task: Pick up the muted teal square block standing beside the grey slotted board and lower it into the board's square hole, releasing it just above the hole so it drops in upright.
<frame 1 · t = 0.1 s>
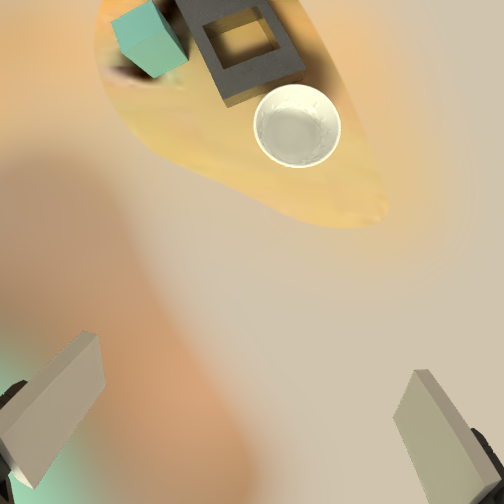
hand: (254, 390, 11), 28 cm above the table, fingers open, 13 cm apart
grey slotted board: (234, 31, 32), on the table
white cup: (289, 139, 35), on the table
teal block: (165, 55, 33), on the table
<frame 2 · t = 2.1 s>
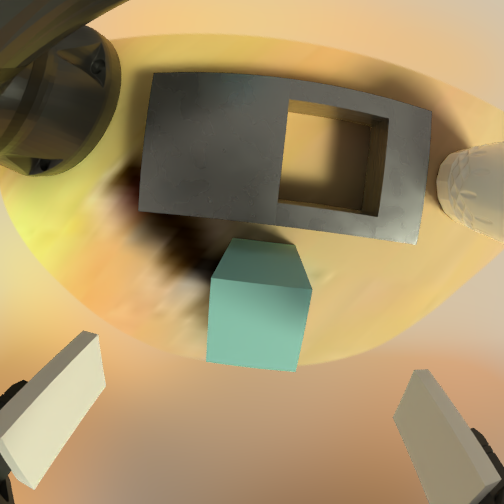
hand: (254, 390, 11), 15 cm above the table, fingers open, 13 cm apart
grey slotted board: (287, 155, 23), on the table
white cup: (462, 186, 23), on the table
teal block: (260, 271, 25), on the table
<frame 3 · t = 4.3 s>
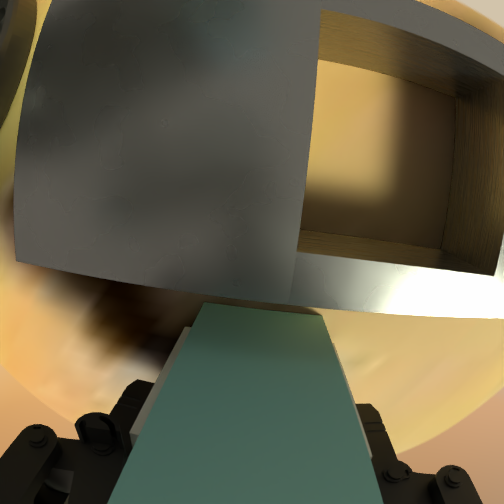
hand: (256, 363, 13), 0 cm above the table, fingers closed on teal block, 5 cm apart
grey slotted board: (310, 139, 11), on the table
teal block: (256, 359, 13), on the table, touching gripper
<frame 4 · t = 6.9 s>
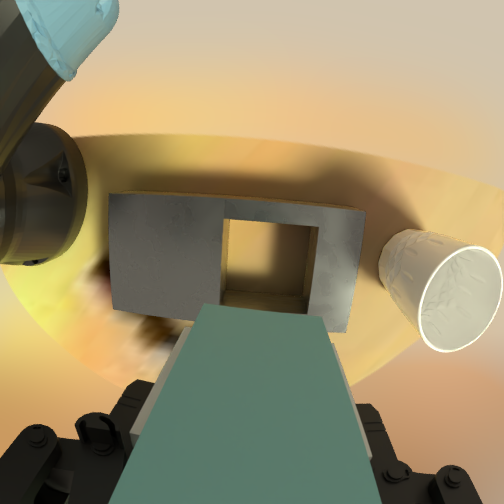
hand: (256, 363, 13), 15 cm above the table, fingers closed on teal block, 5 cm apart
grey slotted board: (233, 252, 27), on the table
white cup: (408, 262, 27), on the table
teal block: (256, 359, 13), point 14 cm above the table, touching gripper
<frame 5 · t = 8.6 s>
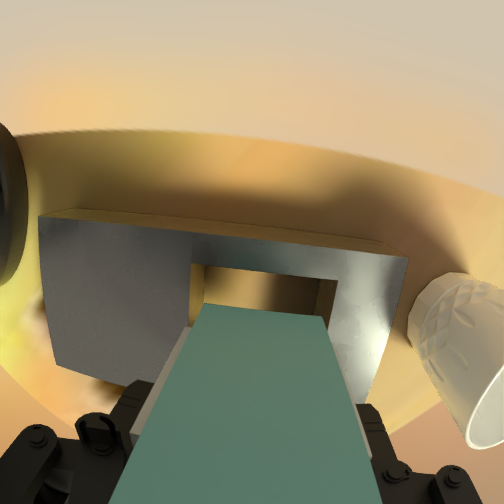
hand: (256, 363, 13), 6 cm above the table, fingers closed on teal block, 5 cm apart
grey slotted board: (211, 300, 19), on the table
white cup: (443, 314, 19), on the table
teal block: (256, 359, 13), point 6 cm above the table, touching gripper
when the fingers open (6 cm above the table, at t = 9.7 s): teal block drops 5 cm, resting in grey slotted board.
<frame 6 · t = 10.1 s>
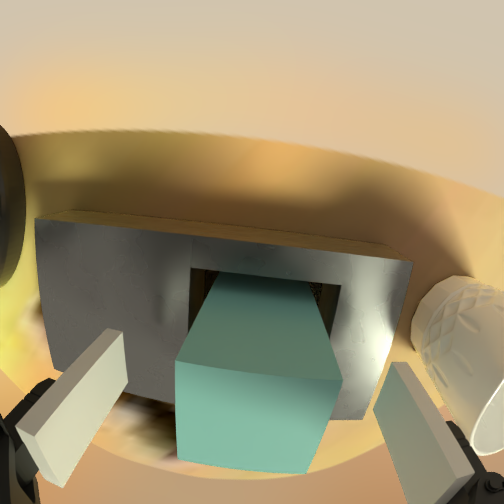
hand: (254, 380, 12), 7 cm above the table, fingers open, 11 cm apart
grey slotted board: (211, 304, 19), on the table
white cup: (447, 317, 18), on the table
teal block: (258, 310, 19), resting in grey slotted board
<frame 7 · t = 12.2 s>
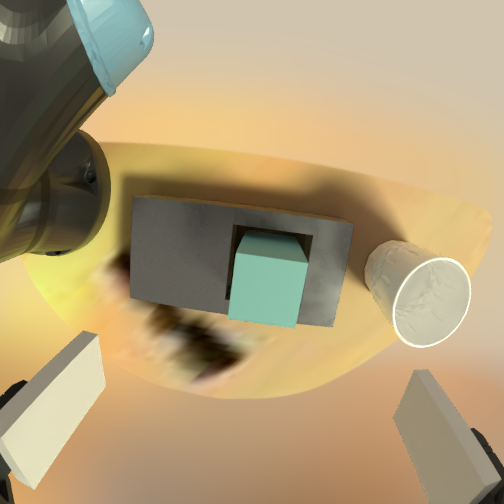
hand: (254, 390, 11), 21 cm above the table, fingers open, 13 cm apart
grey slotted board: (238, 253, 31), on the table
white cup: (391, 269, 31), on the table
teal block: (267, 257, 31), resting in grey slotted board
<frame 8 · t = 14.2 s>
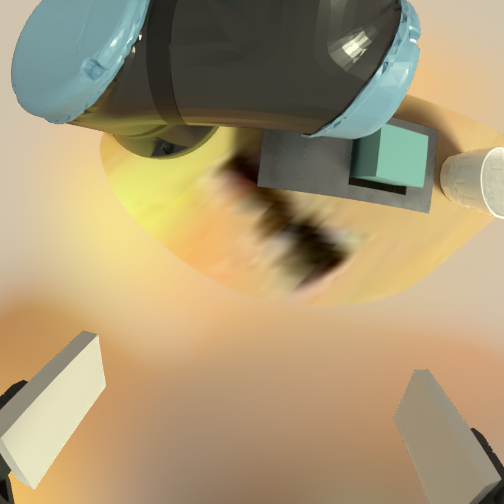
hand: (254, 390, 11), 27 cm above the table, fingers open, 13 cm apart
grey slotted board: (346, 155, 34), on the table
white cup: (457, 179, 34), on the table
teal block: (369, 160, 34), resting in grey slotted board
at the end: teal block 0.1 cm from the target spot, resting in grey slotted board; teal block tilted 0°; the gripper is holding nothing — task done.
